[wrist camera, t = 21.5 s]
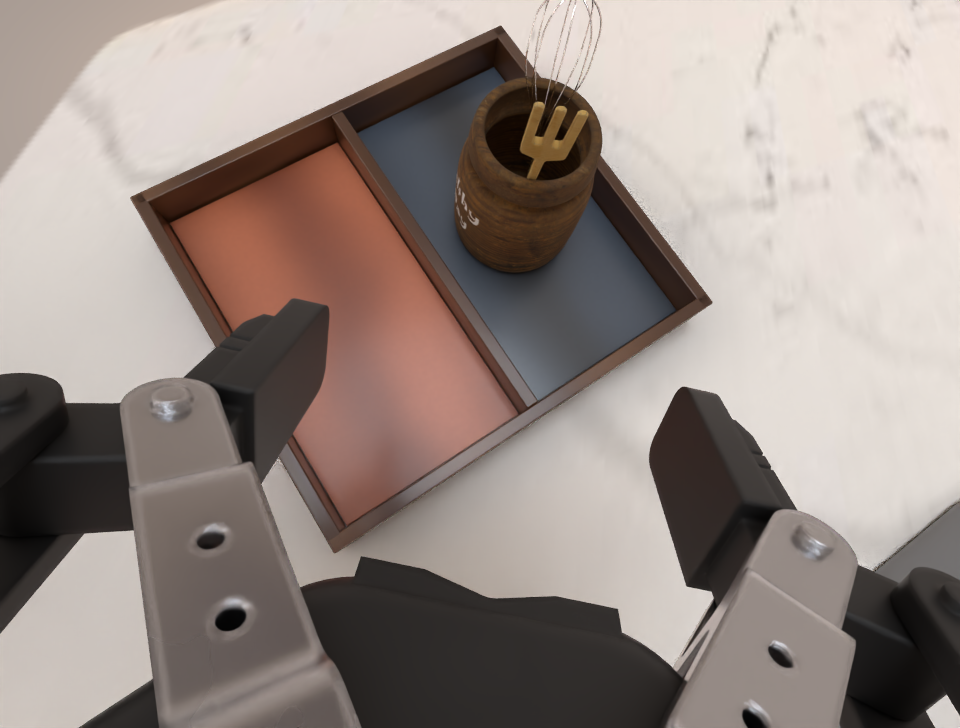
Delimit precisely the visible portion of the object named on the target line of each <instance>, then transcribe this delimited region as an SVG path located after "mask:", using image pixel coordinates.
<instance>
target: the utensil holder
mask: <svg viewBox="0 0 960 728" xmlns="http://www.w3.org/2000/svg"><path fill="white" fill-rule="evenodd" d="M546 1H547V0H545V1H544V2H543V4H542V5H541V6H540V8H539V9H538V11H537V13H536V15H535V18H534V21H533V25H532V29H531V33H530V37H529V41H528V46H527V51H526V58H525V78H518V79H514V80H511V81H508V82H505V83H503V84H501V85H499V86H498V87H496V88H494V89H493V90H492V91H491V92H490V93H488V94H487V96H486V97H485V98H484V99H483V100H482V102H481V103H480V105H479V107H478V109H477V111H476V113H475V115H474V118H473V121H472V123H471V127H470V131H469V136H468V138H467V140H466V142H465V144H464V146H463V149H462V151H461V155H460V158H459V163H458V169H457V178H456V189H455V202H454V216H455V223H456V228H457V232H458V234H459V237H460V239H461V241H462V243H463V244H464V246H465V247H466V249H467V250H468V251H469V252H470V253H471V254H472V255H473V256H474V257H475V258H476V259H477V260H479V261H480V262H481V263H483V264H485V265H486V266H489V267H491V268H493V269H496V270H499V271H504V272H512V273H519V272H526V271H531V270H534V269H537V268H539V267H541V266H543V265H545V264H547V263H548V262H550V261H551V260H552V259H553V258H554V257H555V256H556V255H557V254H558V253H559V252H560V251H561V250H562V249H563V247H564V246H565V244H566V243H567V241H568V240H569V238H570V236H571V234H572V233H573V231H574V229H575V227H576V225H577V224H578V222H579V220H580V218H581V216H582V214H583V212H584V210H585V208H586V206H587V203H588V201H589V198H590V195H591V192H592V188H593V182H594V174H595V172H596V169H597V167H598V163H599V159H600V154H601V149H602V131H601V127H600V123H599V120H598V118H597V116H596V114H595V112H594V110H593V109H592V107H591V106H590V105H589V103H588V102H587V101H586V100H585V99H584V98H583V97H582V96H581V95H580V94H578V93H577V92H576V91H577V90H578V88H579V87H580V85H581V84H582V82H583V81H584V79H585V77H586V75H587V73H588V71H589V68H590V66H591V63H592V60H593V58H594V54H595V51H596V48H597V44H598V41H599V37H600V33H601V28H602V18H601V13H600V9H599V7H598V5H597V3H596V2H595V1H594V0H592V12H591V14H590V11H589V8H588V5H587V3H586V1H585V0H583V1H584V3H585V5H586V7H587V10H588V13H589V17H590V20H589V24H588V28H587V31H586V35H585V38H584V42H583V45H582V48H581V51H580V54H579V56H578V59H577V62H578V60H579V57H580V55H581V52H582V49H583V46H584V43H585V39H586V36H587V32H588V29H589V25H590V24H591V37H590V43H589V47H588V51H587V55H586V58H585V62H584V65H583V69H582V72H581V75H580V78H579V81H578V83H577V86H578V84H579V82H580V79H581V76H582V73H583V70H584V67H585V63H586V60H587V56H588V53H589V49H590V45H591V40H592V20H591V18H592V13H593V6H594V4H593V2H594V3H595V5H596V7H597V9H598V11H599V15H600V31H599V36H598V39H597V43H596V46H595V50H594V53H593V56H592V60H591V62H590V65H589V68H588V70H587V72H586V74H585V76H584V78H583V80H582V82H581V83H580V85H579V86H578V88H577V86H576V88H575V90H573V89H571V88H570V87H568V86H566V85H567V83H568V81H569V79H570V77H571V75H572V73H573V71H574V69H575V67H576V65H577V62H576V64H575V66H574V68H573V71H572V73H571V75H570V77H569V79H568V81H567V83H566V85H564V84H562V83H559V82H557V80H558V76H559V73H560V69H561V65H562V62H563V58H564V54H565V51H566V47H567V43H568V39H569V35H570V31H571V26H572V22H573V17H574V12H575V6H576V0H575V3H574V9H573V15H572V19H571V24H570V29H569V33H568V37H567V41H566V45H565V49H564V53H563V57H562V60H561V64H560V68H559V71H558V75H557V79H556V81H554V80H551V79H552V74H553V70H554V66H555V61H556V57H557V53H558V49H559V45H560V41H561V37H562V33H563V29H564V26H565V22H566V18H567V14H568V11H569V7H570V3H571V0H570V2H569V6H568V9H567V13H566V17H565V21H564V25H563V28H562V32H561V36H560V40H559V44H558V48H557V52H556V56H555V60H554V65H553V69H552V73H551V78H550V79H546V78H538V77H536V63H537V59H538V55H539V51H540V47H541V43H542V39H543V36H544V33H545V30H546V27H547V25H548V23H549V21H550V19H551V17H552V16H553V14H554V13H555V11H556V10H557V8H558V7H559V6H560V5H561V4H562V2H564V1H565V0H562V1H561V2H560V4H559V5H558V6H557V7H556V9H555V10H554V11H553V13H552V15H551V16H550V18H549V20H548V22H547V24H546V26H545V29H544V31H543V35H542V38H541V42H540V45H539V49H538V53H537V46H538V40H539V36H540V31H541V27H542V23H543V19H544V15H545V11H546V8H547V5H548V2H549V0H548V1H547V3H546V7H545V10H544V14H543V18H542V22H541V26H540V30H539V34H538V39H537V45H536V53H535V66H534V71H533V77H527V75H526V61H527V53H528V47H529V43H530V38H531V34H532V30H533V27H534V23H535V20H536V16H537V14H538V12H539V10H540V9H541V7H542V6H543V5H544V3H545V2H546ZM536 54H537V57H536ZM534 73H535V77H534Z"/></svg>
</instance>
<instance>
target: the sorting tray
mask: <svg viewBox="0 0 960 728" xmlns="http://www.w3.org/2000/svg"><path fill="white" fill-rule="evenodd" d="M525 58H526V57H525V56H524V55H523V54H522V52H521V51H520V50H519V48H518V47H517V46H516V44H515V43H514V42H513V40H512V39H511V38H510V37H509V35H508V34H507V33H506V31H505V30H504V29H503V27H502V26H499V27H496V28H494V29H492V30H490V31H488V32H486V33H483V34H481V35H479V36H477V37H475V38H473V39H470V40H468V41H466V42H464V43H462V44H460V45H458V46H455V47H453V48H451V49H449V50H447V51H445V52H442V53H440V54H438V55H436V56H434V57H432V58H430V59H427V60H425V61H423V62H421V63H419V64H417V65H414V66H412V67H410V68H408V69H406V70H404V71H401V72H399V73H397V74H395V75H393V76H391V77H389V78H386V79H384V80H382V81H380V82H378V83H376V84H373V85H371V86H369V87H367V88H365V89H363V90H360V91H358V92H356V93H354V94H352V95H350V96H348V97H345V98H343V99H341V100H339V101H337V102H335V103H332V104H330V105H328V106H326V107H324V108H322V109H319V110H317V111H315V112H313V113H311V114H309V115H307V116H304V117H302V118H300V119H298V120H296V121H294V122H291V123H289V124H287V125H285V126H283V127H281V128H278V129H276V130H274V131H272V132H270V133H268V134H266V135H263V136H261V137H259V138H257V139H255V140H253V141H250V142H248V143H246V144H244V145H242V146H240V147H238V148H235V149H233V150H231V151H229V152H227V153H225V154H222V155H220V156H218V157H216V158H214V159H212V160H209V161H207V162H205V163H203V164H201V165H199V166H197V167H194V168H192V169H190V170H188V171H186V172H184V173H181V174H179V175H177V176H175V177H173V178H171V179H168V180H166V181H164V182H162V183H160V184H158V185H156V186H153V187H151V188H149V189H147V190H145V191H143V192H140V193H138V194H136V195H134V196H132V197H130V199H131V201H132V202H133V204H134V206H135V208H136V209H137V211H138V213H139V214H140V216H141V218H142V220H143V221H144V223H145V225H146V227H147V228H148V230H149V232H150V234H151V235H152V237H153V239H154V241H155V242H156V244H157V246H158V248H159V249H160V251H161V253H162V255H163V256H164V258H165V260H166V262H167V263H168V265H169V267H170V268H171V270H172V272H173V274H174V275H175V277H176V279H177V281H178V282H179V284H180V286H181V288H182V289H183V291H184V293H185V295H186V296H187V298H188V300H189V302H190V303H191V305H192V307H193V309H194V310H195V312H196V314H197V315H198V317H199V319H200V321H201V322H202V324H203V326H204V328H205V329H206V331H207V333H208V335H209V336H210V338H211V340H212V342H213V343H214V345H215V347H219V346H220V343H221V342H222V341H224V340H225V339H226V338H227V337H230V334H231V333H232V332H233V331H234V330H235V329H236V328H238V327H239V326H240V325H241V324H242V323H243V322H245V321H247V320H250V319H252V318H255V317H257V316H260V315H262V314H267V315H272V316H275V315H276V314H277V313H278V312H279V311H280V310H281V309H282V308H283V307H284V306H285V305H286V304H287V303H288V302H289V301H290V300H291V299H292V298H297V299H301V300H305V301H310V302H314V303H319V304H323V305H327V306H328V307H329V330H328V344H327V357H326V369H325V374H324V378H323V382H322V385H321V388H320V390H319V392H318V394H317V395H316V397H315V399H314V400H313V402H312V403H311V405H310V407H309V408H308V410H307V411H306V413H305V415H304V416H303V418H302V419H301V421H300V423H299V424H298V426H297V427H296V429H295V431H294V432H293V434H292V435H291V437H290V439H289V440H288V442H287V443H286V445H285V447H284V448H283V450H282V451H281V453H280V455H279V456H278V457H279V458H280V460H281V462H282V463H283V465H284V467H285V469H286V470H287V472H288V474H289V476H290V477H291V479H292V481H293V483H294V484H295V486H296V488H297V490H298V491H299V493H300V495H301V497H302V498H303V500H304V502H305V504H306V505H307V507H308V509H309V510H310V512H311V514H312V516H313V517H314V519H315V521H316V523H317V524H318V526H319V528H320V530H321V531H322V533H323V535H324V537H325V538H326V540H327V542H328V544H329V545H330V547H331V549H332V551H333V552H334V553H336V552H338V551H340V550H341V549H343V548H345V547H346V546H348V545H349V544H351V543H352V542H354V541H355V540H357V539H358V538H360V537H361V536H363V535H364V534H366V533H367V532H369V531H370V530H372V529H374V528H375V527H377V526H378V525H380V524H381V523H383V522H384V521H386V520H387V519H389V518H390V517H392V516H393V515H395V514H396V513H398V512H399V511H401V510H402V509H404V508H405V507H407V506H408V505H410V504H411V503H413V502H414V501H416V500H417V499H419V498H420V497H422V496H423V495H425V494H426V493H428V492H429V491H431V490H432V489H434V488H435V487H437V486H438V485H440V484H441V483H443V482H444V481H446V480H447V479H449V478H450V477H452V476H453V475H455V474H456V473H458V472H459V471H461V470H463V469H464V468H466V467H467V466H469V465H470V464H472V463H473V462H475V461H476V460H478V459H479V458H481V457H482V456H484V455H485V454H487V453H488V452H490V451H491V450H493V449H494V448H496V447H497V446H499V445H500V444H502V443H503V442H505V441H506V440H508V439H509V438H511V437H512V436H514V435H515V434H517V433H518V432H520V431H521V430H523V429H524V428H526V427H527V426H529V425H530V424H532V423H533V422H535V421H536V420H538V419H539V418H541V417H542V416H544V415H545V414H547V413H549V412H550V411H552V410H553V409H555V408H556V407H558V406H559V405H561V404H562V403H564V402H565V401H567V400H568V399H570V398H571V397H573V396H574V395H576V394H577V393H579V392H580V391H582V390H583V389H585V388H586V387H588V386H589V385H591V384H592V383H594V382H595V381H597V380H598V379H600V378H601V377H603V376H604V375H606V374H607V373H609V372H610V371H612V370H613V369H615V368H616V367H618V366H619V365H621V364H622V363H624V362H625V361H627V360H628V359H630V358H631V357H633V356H634V355H636V354H638V353H639V352H641V351H642V350H644V349H645V348H647V347H648V346H650V345H651V344H653V343H654V342H656V341H657V340H659V339H660V338H662V337H663V336H665V335H666V334H668V333H669V332H671V331H672V330H674V329H675V328H677V327H678V326H680V325H681V324H683V323H684V322H686V321H687V320H689V319H690V318H692V317H693V316H695V315H696V314H698V313H699V312H700V311H702V310H703V309H705V308H706V307H708V306H709V305H711V304H712V303H713V302H712V301H711V299H710V298H709V297H708V295H707V294H706V293H705V291H704V290H703V289H702V287H701V286H700V285H699V284H698V282H697V281H696V280H695V278H694V277H693V276H692V274H691V273H690V272H689V270H688V269H687V268H686V267H685V265H684V264H683V263H682V261H681V260H680V259H679V257H678V256H677V255H676V253H675V252H674V251H673V250H672V248H671V247H670V246H669V244H668V243H667V242H666V240H665V239H664V238H663V237H662V235H661V234H660V233H659V231H658V230H657V229H656V227H655V226H654V225H653V223H652V222H651V221H650V220H649V218H648V217H647V216H646V214H645V213H644V212H643V210H642V209H641V208H640V206H639V205H638V204H637V203H636V201H635V200H634V199H633V197H632V196H631V195H630V193H629V192H628V191H627V189H626V188H625V187H624V186H623V184H622V183H621V182H620V180H619V179H618V178H617V176H616V175H615V174H614V172H613V171H612V170H611V169H610V167H609V166H608V165H607V163H606V162H605V161H604V159H603V158H602V157H601V155H600V159H599V163H598V167H597V169H596V172H595V174H594V182H593V188H592V192H591V195H590V198H589V201H588V203H587V206H586V208H585V210H584V212H583V214H582V216H581V218H580V220H579V222H578V224H577V225H576V227H575V229H574V231H573V233H572V234H571V236H570V238H569V240H568V241H567V243H566V244H565V246H564V247H563V249H562V250H561V251H560V252H559V253H558V254H557V255H556V256H555V257H554V258H553V259H552V260H551V261H550V262H548V263H547V264H545V265H543V266H541V267H539V268H537V269H534V270H531V271H526V272H519V273H512V272H504V271H499V270H496V269H493V268H491V267H489V266H486V265H485V264H483V263H481V262H480V261H479V260H477V259H476V258H475V257H474V256H473V255H472V254H471V253H470V252H469V251H468V250H467V249H466V247H465V246H464V244H463V243H462V241H461V239H460V237H459V234H458V232H457V228H456V223H455V216H454V202H455V189H456V178H457V169H458V163H459V158H460V155H461V151H462V149H463V146H464V144H465V142H466V140H467V138H468V136H469V131H470V127H471V123H472V121H473V118H474V115H475V113H476V111H477V109H478V107H479V105H480V103H481V102H482V100H483V99H484V98H485V97H486V96H487V94H488V93H490V92H491V91H492V90H493V89H494V88H496V87H498V86H499V85H501V84H503V83H505V82H508V81H511V80H514V79H518V78H525ZM533 71H534V68H533V67H532V65H531V64H530V63H529V61H528V60H527V61H526V75H527V77H533ZM534 77H535V73H534ZM536 77H538V78H541V77H540V76H539V74H538V73H537V72H536Z"/></svg>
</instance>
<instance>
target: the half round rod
mask: <svg viewBox="0 0 960 728" xmlns="http://www.w3.org/2000/svg"><path fill="white" fill-rule="evenodd" d="M916 567H928V568H933V569H936V570H939V571H942V572H944V573H947V574H949V575H951V576H953V577H955V578H957V579H958V580H960V502H959V503H957V504H956V505H954V506H953V507H952V508H951V509H950V510H948V511H947V512H946V513H945V514H944V515H942V516H941V517H940V518H939V519H938V520H936V521H935V522H934V523H933V524H932V525H930V526H929V527H928V528H927V529H926V530H924V531H923V532H922V533H921V534H920V535H918V536H917V537H916V538H915V539H914V540H912V541H911V542H910V543H909V544H908V545H906V546H905V547H904V548H903V549H902V550H900V551H899V552H898V553H897V554H896V555H894V556H893V557H892V558H891V559H890V560H889V561H887V562H886V563H885V564H884V565H883V566H881V567H880V568H879V569H878V570H877V571H875V573H878V574H880V575H882V576H884V577H887V578H889V579H891V580H894V581H896V582H898V583H900V582H901V581H902V580H903V579H904V578H905V577H906V576H907V575H908V574H909V572H910V571H911V570H912V569H914V568H916ZM838 728H841V727H840V724H839V726H838Z"/></svg>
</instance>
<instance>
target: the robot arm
mask: <svg viewBox="0 0 960 728" xmlns="http://www.w3.org/2000/svg"><path fill="white" fill-rule="evenodd" d="M328 330H329V307H328V306H327V305H323V304H319V303H314V302H310V301H305V300H301V299H297V298H292V299H291V300H290V301H289V302H288V303H287V304H286V305H285V306H284V307H283V308H282V309H281V310H280V311H279V312H278V313H277V314H276V315H275V316H272V315H267V314H262V315H260V316H257V317H255V318H252V319H250V320H247V321H245V322H243V323H242V324H241V325H240V326H239V327H238V328H236V329H235V330H234V331H233V332H232V333H231V334H230V337H227V338H226V339H225V340H224V341H222V342H221V343H220V346H219V347H216V348H215V349H214V350H213V351H212V352H211V353H210V354H208V355H207V356H206V357H205V358H204V359H203V360H202V361H201V362H200V363H199V364H198V365H197V366H196V367H194V368H193V369H192V370H191V371H190V372H189V373H188V374H187V375H186V376H185V377H184V378H167V379H160V380H156V381H152V382H148V383H146V384H143V385H141V386H139V387H137V388H135V389H133V390H132V391H130V392H129V393H128V394H127V395H126V396H125V397H124V398H123V400H122V401H121V403H113V404H109V403H66V402H65V398H64V394H63V389H62V387H61V385H60V384H59V383H58V382H57V381H55V380H54V379H52V378H49V377H47V376H43V375H38V374H31V373H11V374H2V375H0V633H1V632H2V631H3V630H4V629H5V627H6V626H7V625H8V624H9V623H10V621H11V620H12V619H13V618H14V617H15V615H16V614H17V613H18V612H19V611H20V609H21V608H22V607H23V606H24V605H25V604H26V602H27V601H28V600H29V599H30V598H31V596H32V595H33V594H34V593H35V592H36V590H37V589H38V588H39V587H40V586H41V584H42V583H43V582H44V581H45V580H46V578H47V577H48V576H49V575H50V574H51V573H52V571H53V570H54V569H55V568H56V567H57V565H58V564H59V563H60V562H61V561H62V559H63V558H64V557H65V556H66V555H67V553H68V552H69V551H70V550H71V549H72V548H73V546H74V545H75V544H76V543H77V542H78V540H79V539H80V538H81V537H82V536H83V534H84V533H98V532H114V531H131V530H134V534H135V542H136V550H137V558H138V565H139V573H140V581H141V589H142V597H143V604H144V612H145V620H146V628H147V636H148V643H149V651H150V659H151V667H152V675H153V679H152V680H151V681H149V682H148V683H146V684H144V685H143V686H141V687H140V688H138V689H137V690H135V691H134V692H132V693H131V694H129V695H128V696H126V697H125V698H123V699H122V700H120V701H118V702H117V703H115V704H114V705H112V706H111V707H109V708H108V709H106V710H105V711H103V712H102V713H100V714H99V715H97V716H96V717H94V718H93V719H91V720H89V721H88V722H86V723H85V724H83V725H82V726H80V727H79V728H838V726H839V724H840V727H841V728H935V727H934V725H933V723H932V722H931V720H930V718H929V716H928V715H927V713H926V710H928V709H929V708H930V707H931V706H933V705H934V704H935V703H936V702H938V701H939V700H940V699H941V698H943V697H944V696H945V695H946V694H947V695H948V697H949V699H950V700H951V702H952V704H953V705H954V707H955V708H956V710H957V712H958V713H959V715H960V580H958V579H957V578H955V577H953V576H951V575H949V574H947V573H944V572H942V571H939V570H936V569H933V568H928V567H916V568H914V569H912V570H911V571H910V572H909V574H908V575H907V576H906V577H905V578H904V579H903V580H902V581H901V582H900V583H898V582H896V581H894V580H891V579H889V578H887V577H884V576H882V575H880V574H878V573H875V572H873V571H871V570H869V569H866V568H864V567H862V566H859V565H858V561H857V557H856V555H855V553H854V551H853V550H852V548H851V546H850V545H849V544H848V543H847V541H846V540H845V539H844V538H843V537H842V536H841V535H840V534H838V533H837V532H836V531H835V530H834V529H832V528H831V527H830V526H828V525H827V524H825V523H824V522H822V521H821V520H819V519H817V518H815V517H813V516H811V515H809V514H806V513H803V512H801V511H797V509H796V507H795V506H794V504H793V502H792V501H791V499H790V497H789V496H788V494H787V492H786V491H785V489H784V487H783V486H782V484H781V482H780V481H779V479H778V477H777V476H776V474H775V472H774V471H773V470H771V466H770V464H769V462H768V461H767V459H766V457H765V456H762V454H763V452H762V451H761V449H760V447H759V446H758V444H757V442H756V441H755V439H754V438H753V436H752V435H751V434H750V433H749V432H748V431H746V430H745V429H744V428H743V427H742V426H741V425H740V424H739V423H738V422H737V421H736V420H733V419H732V418H731V416H730V415H729V413H728V411H727V409H726V408H725V406H724V404H723V402H722V401H721V399H720V397H719V396H718V395H717V394H714V393H710V392H706V391H701V390H697V389H692V388H688V387H681V388H680V389H679V390H678V391H677V392H676V394H675V395H674V397H673V399H672V401H671V403H670V406H669V408H668V410H667V412H666V414H665V416H664V418H663V420H662V422H661V424H660V426H659V428H658V430H657V432H656V434H655V436H654V438H653V441H652V444H651V447H650V454H649V463H650V468H651V471H652V475H653V478H654V481H655V484H656V488H657V491H658V494H659V498H660V501H661V504H662V507H663V511H664V514H665V517H666V521H667V524H668V527H669V530H670V534H671V537H672V540H673V543H674V547H675V550H676V553H677V557H678V560H679V563H680V566H681V570H682V573H683V576H684V580H685V583H686V586H687V587H692V588H697V589H702V590H706V591H711V592H712V594H713V597H714V599H713V600H712V602H711V603H710V605H709V606H708V608H707V609H706V611H705V612H704V614H703V616H702V617H701V619H700V621H699V623H698V624H697V626H696V628H695V630H694V631H693V633H692V635H691V637H690V638H689V640H688V642H687V644H686V645H685V647H684V649H683V650H682V652H681V654H680V656H679V657H678V659H677V661H676V663H675V664H674V666H673V668H672V667H671V666H670V665H669V664H668V663H667V662H666V661H664V660H663V659H662V658H661V657H660V656H659V655H657V654H656V653H655V652H653V651H652V650H650V649H649V648H648V647H646V646H645V645H643V644H642V643H640V642H638V641H637V640H635V639H633V638H631V637H630V636H628V635H626V634H624V633H622V631H621V625H620V619H619V613H618V609H615V608H610V607H605V606H600V605H595V604H591V603H586V602H581V601H576V600H571V599H566V598H561V597H557V596H551V597H525V598H498V599H496V598H488V597H485V596H482V595H480V594H478V593H476V592H474V591H472V590H469V589H467V588H465V587H463V586H461V585H458V584H456V583H454V582H452V581H450V580H447V579H445V578H443V577H441V576H439V575H436V574H434V573H432V572H430V571H428V570H425V569H421V568H416V567H411V566H406V565H401V564H397V563H392V562H387V561H382V560H377V559H372V558H367V557H363V556H361V558H360V561H359V564H358V567H357V570H356V573H355V576H354V577H340V578H333V579H326V580H322V581H319V582H315V583H311V584H308V585H305V586H303V587H299V584H298V582H297V579H296V576H295V574H294V571H293V568H292V566H291V563H290V560H289V558H288V555H287V552H286V550H285V547H284V544H283V542H282V539H281V536H280V534H279V531H278V528H277V525H276V523H275V520H274V517H273V515H272V512H271V509H270V507H269V504H268V501H267V499H266V496H265V493H264V491H263V488H262V485H261V483H262V482H263V480H264V479H265V477H266V475H267V474H268V472H269V471H270V469H271V467H272V466H273V464H274V463H275V461H276V459H277V458H278V456H279V455H280V453H281V451H282V450H283V448H284V447H285V445H286V443H287V442H288V440H289V439H290V437H291V435H292V434H293V432H294V431H295V429H296V427H297V426H298V424H299V423H300V421H301V419H302V418H303V416H304V415H305V413H306V411H307V410H308V408H309V407H310V405H311V403H312V402H313V400H314V399H315V397H316V395H317V394H318V392H319V390H320V388H321V385H322V382H323V378H324V374H325V369H326V357H327V344H328Z"/></svg>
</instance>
